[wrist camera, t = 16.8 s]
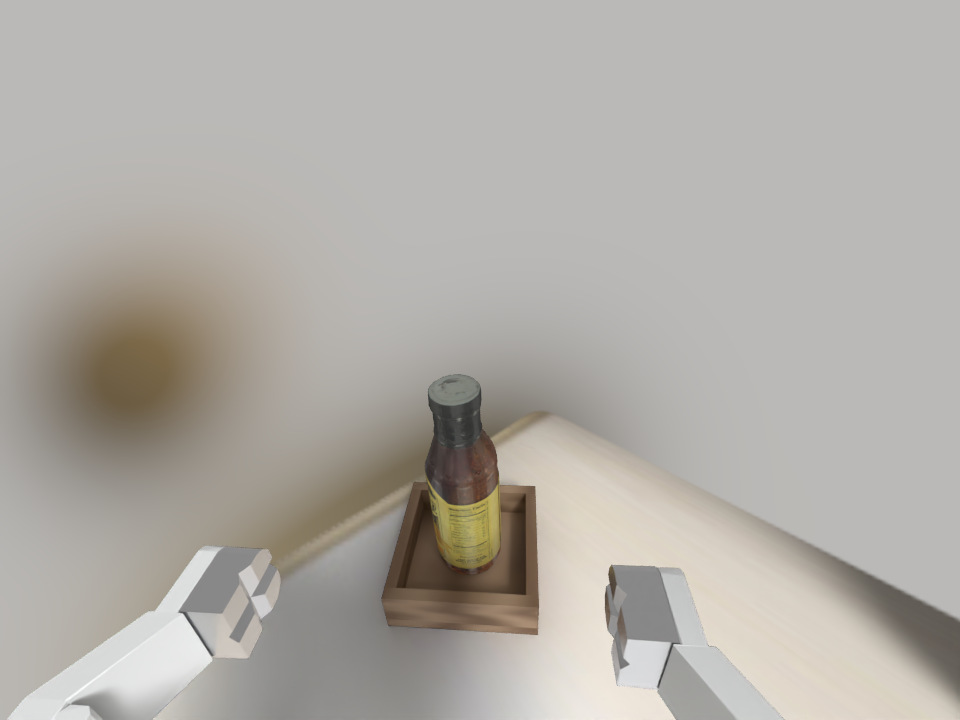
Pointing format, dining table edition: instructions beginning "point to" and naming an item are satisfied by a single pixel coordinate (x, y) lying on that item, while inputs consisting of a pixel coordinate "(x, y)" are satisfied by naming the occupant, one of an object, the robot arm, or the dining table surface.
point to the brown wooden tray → (458, 597)
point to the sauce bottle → (463, 477)
